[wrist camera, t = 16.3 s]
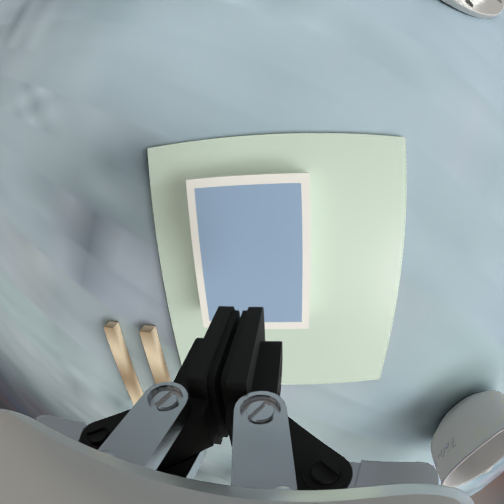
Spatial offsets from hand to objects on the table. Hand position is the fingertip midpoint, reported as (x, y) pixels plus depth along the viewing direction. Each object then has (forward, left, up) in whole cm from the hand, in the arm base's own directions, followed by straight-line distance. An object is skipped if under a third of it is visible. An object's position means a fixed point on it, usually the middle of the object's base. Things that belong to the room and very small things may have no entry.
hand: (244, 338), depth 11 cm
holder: (+10, -11, -8) cm, 17 cm away
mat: (+1, +1, -8) cm, 8 cm away
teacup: (+20, +23, -8) cm, 32 cm away
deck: (-1, +3, -7) cm, 7 cm away
